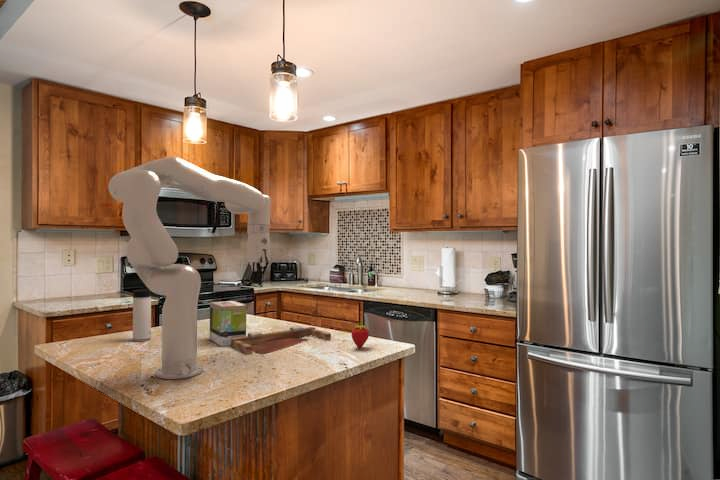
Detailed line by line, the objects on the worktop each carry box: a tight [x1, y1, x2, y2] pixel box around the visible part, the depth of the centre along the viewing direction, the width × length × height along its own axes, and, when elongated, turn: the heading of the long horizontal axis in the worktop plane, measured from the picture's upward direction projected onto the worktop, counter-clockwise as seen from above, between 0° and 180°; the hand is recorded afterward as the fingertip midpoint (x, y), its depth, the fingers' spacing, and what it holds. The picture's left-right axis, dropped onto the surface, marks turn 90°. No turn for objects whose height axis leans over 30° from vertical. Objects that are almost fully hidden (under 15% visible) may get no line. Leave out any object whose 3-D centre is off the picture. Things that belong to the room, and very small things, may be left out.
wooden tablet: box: [251, 337, 309, 355], centre depth 163 cm, size 27×10×2 cm, turn 147°
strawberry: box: [350, 324, 370, 349], centre depth 158 cm, size 6×8×10 cm
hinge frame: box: [230, 325, 332, 355], centre depth 166 cm, size 14×35×4 cm, turn 129°
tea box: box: [209, 300, 248, 347], centre depth 168 cm, size 15×10×15 cm, turn 34°
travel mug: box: [132, 286, 152, 343], centre depth 170 cm, size 6×7×20 cm
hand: (256, 282), depth 153 cm, fingers closed
